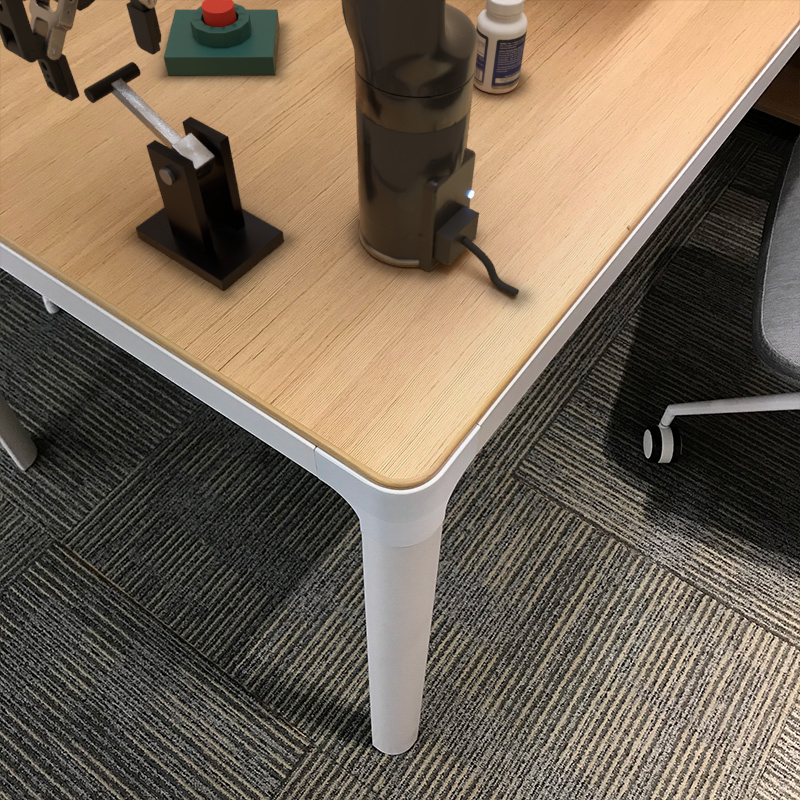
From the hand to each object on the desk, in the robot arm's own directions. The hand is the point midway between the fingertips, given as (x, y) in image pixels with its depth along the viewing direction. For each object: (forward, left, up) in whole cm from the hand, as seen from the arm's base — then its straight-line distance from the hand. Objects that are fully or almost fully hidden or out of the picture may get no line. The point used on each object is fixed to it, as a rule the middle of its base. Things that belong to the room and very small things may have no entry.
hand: (110, 72), depth 63 cm
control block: (+13, -23, -14) cm, 30 cm away
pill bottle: (-15, -38, -14) cm, 43 cm away
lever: (-4, 0, -4) cm, 6 cm away
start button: (+13, -23, -10) cm, 28 cm away
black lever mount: (-8, 0, -14) cm, 16 cm away
